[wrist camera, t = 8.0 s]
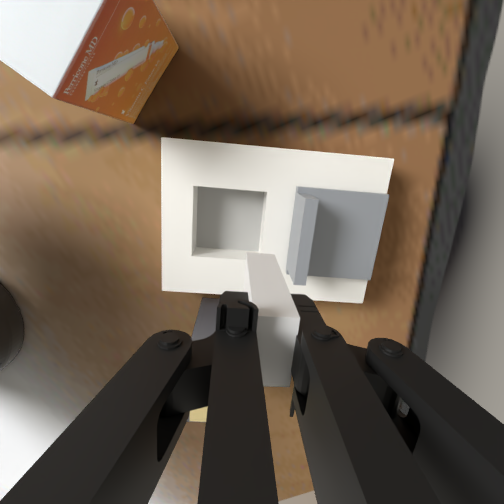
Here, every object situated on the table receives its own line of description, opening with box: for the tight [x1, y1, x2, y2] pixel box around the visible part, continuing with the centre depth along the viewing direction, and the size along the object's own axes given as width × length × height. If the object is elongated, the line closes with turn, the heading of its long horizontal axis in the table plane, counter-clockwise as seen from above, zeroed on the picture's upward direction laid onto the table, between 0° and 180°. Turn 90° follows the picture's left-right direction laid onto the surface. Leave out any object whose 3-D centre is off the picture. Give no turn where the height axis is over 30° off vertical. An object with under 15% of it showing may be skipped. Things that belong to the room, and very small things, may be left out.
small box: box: [0, 0, 179, 124], centre depth 21 cm, size 8×6×13 cm
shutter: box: [286, 186, 389, 286], centre depth 26 cm, size 8×8×4 cm
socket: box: [161, 137, 394, 303], centre depth 30 cm, size 20×14×4 cm
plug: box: [187, 298, 219, 422], centre depth 29 cm, size 5×5×13 cm
